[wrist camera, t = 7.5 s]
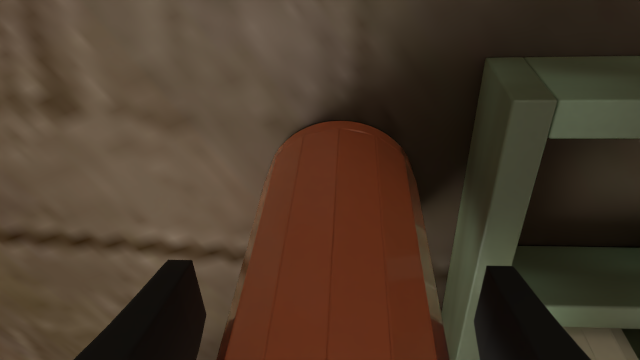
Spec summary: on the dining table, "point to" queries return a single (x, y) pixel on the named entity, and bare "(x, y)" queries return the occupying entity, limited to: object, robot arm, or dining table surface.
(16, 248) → the dining table surface
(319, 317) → the terracotta tumbler
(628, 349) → the cream tumbler
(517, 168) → the frame
